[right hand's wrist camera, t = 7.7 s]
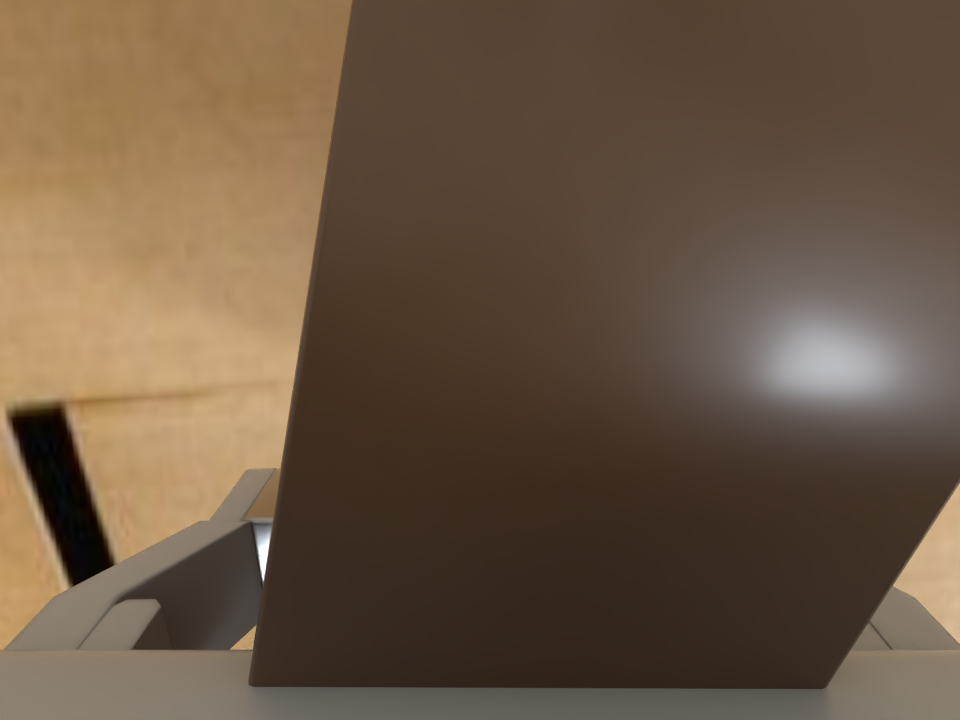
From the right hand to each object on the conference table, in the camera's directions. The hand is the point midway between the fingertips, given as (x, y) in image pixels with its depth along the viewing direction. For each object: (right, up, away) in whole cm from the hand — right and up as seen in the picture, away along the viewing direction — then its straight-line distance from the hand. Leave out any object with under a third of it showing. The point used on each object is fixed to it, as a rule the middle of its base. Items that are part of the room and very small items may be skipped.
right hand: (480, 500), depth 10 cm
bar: (+2, +8, +1) cm, 9 cm away
